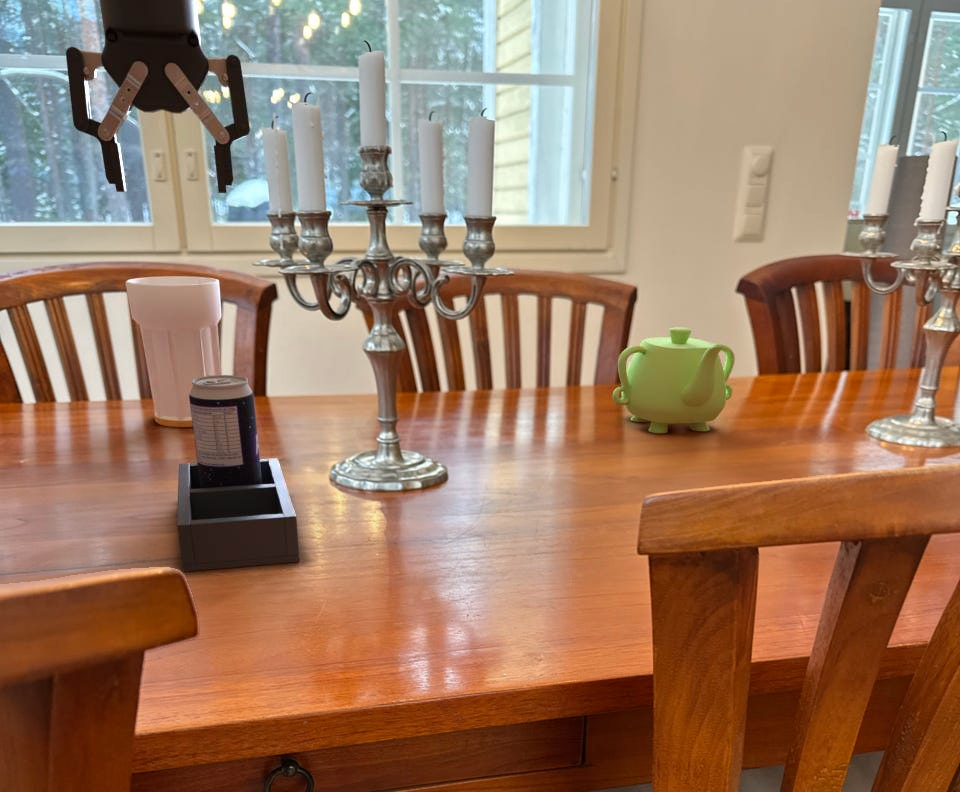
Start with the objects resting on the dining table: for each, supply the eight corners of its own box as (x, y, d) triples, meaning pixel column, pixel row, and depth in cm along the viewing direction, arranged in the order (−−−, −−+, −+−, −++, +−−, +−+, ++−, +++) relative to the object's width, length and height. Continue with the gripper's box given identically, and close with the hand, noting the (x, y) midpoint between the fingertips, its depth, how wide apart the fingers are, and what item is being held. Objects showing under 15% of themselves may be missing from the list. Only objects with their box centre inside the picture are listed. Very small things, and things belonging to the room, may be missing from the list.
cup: (127, 424, 117) (104, 281, 109) (182, 406, 126) (164, 274, 118) (199, 433, 114) (181, 287, 106) (250, 414, 123) (237, 279, 115)
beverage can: (273, 510, 85) (262, 382, 80) (216, 521, 83) (200, 389, 77) (250, 494, 90) (237, 372, 84) (194, 504, 87) (178, 377, 81)
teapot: (750, 425, 123) (766, 330, 117) (707, 445, 113) (721, 341, 107) (646, 407, 132) (655, 317, 126) (596, 424, 122) (605, 327, 116)
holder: (183, 572, 74) (177, 525, 72) (184, 503, 89) (178, 463, 87) (299, 561, 76) (296, 516, 74) (280, 497, 92) (277, 457, 90)
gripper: (234, -19, 76) (253, 193, 84) (55, -32, 73) (91, 190, 80) (237, -37, 70) (257, 194, 77) (40, -52, 67) (81, 192, 74)
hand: (172, 192), depth 79 cm, fingers open, 8 cm apart
